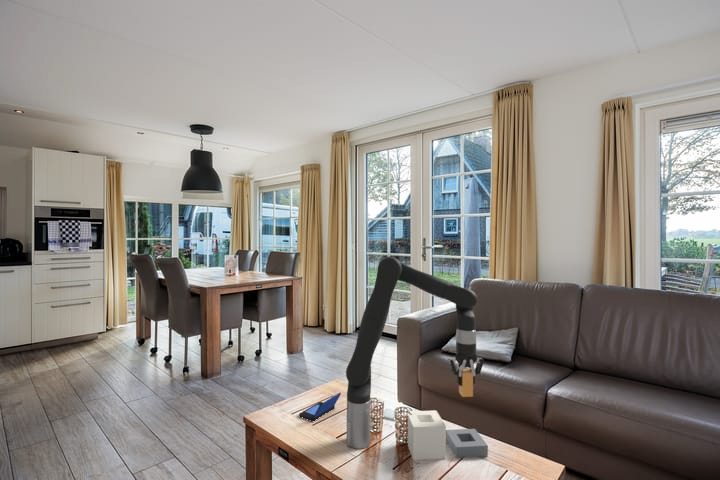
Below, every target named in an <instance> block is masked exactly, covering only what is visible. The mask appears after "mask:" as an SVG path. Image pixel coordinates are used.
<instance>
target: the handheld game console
mask: <svg viewBox="0 0 720 480" xmlns="http://www.w3.org/2000/svg"><path fill="white" fill-rule="evenodd" d="M341 394H342V393H341V392H339V393H336V394H335V395H334V396H332V397H330V398H329V399H327V400H325V401H324V402H323V401H318V402H316V403H315V404H313V405H311V406H310V407H308V408H306V409H305V410H303V411H301V412H299V413H298V416H300V418H301V417H303V418H302V419H304V418H305V419H304V420H306V419H308V420H307V421H309V420H311V421H310V422H312V421H315V420H316V419H318V418H319V417H321V416H322V415H323V416H325V415H326V414H325V413H327V414H328V413H330V412H331V410H332V411H333V410H335V408H336V407H335V405H336V404H337V402H338V400H339V398H340V396H341ZM329 411H330V412H329ZM323 416H322V417H323ZM322 417H321V418H322ZM319 419H320V418H319ZM319 419H318V420H319ZM316 421H317V420H316ZM316 421H315V422H316Z"/></svg>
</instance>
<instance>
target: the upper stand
mask: <svg viewBox="0 0 720 480" xmlns="http://www.w3.org/2000/svg"><path fill="white" fill-rule="evenodd" d="M410 413H411V414H412V415H408V441H407V442H406V444H407V443H408V445H407V447H408V449H409V452H410V455H411V457H412V460H413V461H422V460H439V459H440V460H441V459H445V460H446V457H447V455H446V452H447V451H446V450H447V446H446V445H447V441H446V430H447V429H446V428H447V425H446V424H445V422H444V421H443V419H442V417H441V416H440V414H439V412H438V411H437V409H436V410H415V411H412V410H411V411H410Z"/></svg>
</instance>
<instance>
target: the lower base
mask: <svg viewBox="0 0 720 480" xmlns="http://www.w3.org/2000/svg"><path fill="white" fill-rule="evenodd" d="M446 444H448V446H449V448H450V450H451V451H452V454H453V455H454V457H455V458H456V459H462V458H479V457H485V458H486V457H488V455H489V451H488V450H489V448H488V447H489V445H488V444H487V442H486V441H485V440H484V439H483V437H482V435H480V433H479V431H477V429H475V428H459V429H457V428H456V429H446Z"/></svg>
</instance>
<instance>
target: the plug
mask: <svg viewBox="0 0 720 480" xmlns="http://www.w3.org/2000/svg"><path fill="white" fill-rule="evenodd" d="M458 393H459V394H460V396H461V397H462V398H468V397H471V398H472V397H474V385H473V372H471V371H470V370H469V368H468V369H467V368H466V369H465V368H464V371H463V372H462V386H459V385H458Z"/></svg>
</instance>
